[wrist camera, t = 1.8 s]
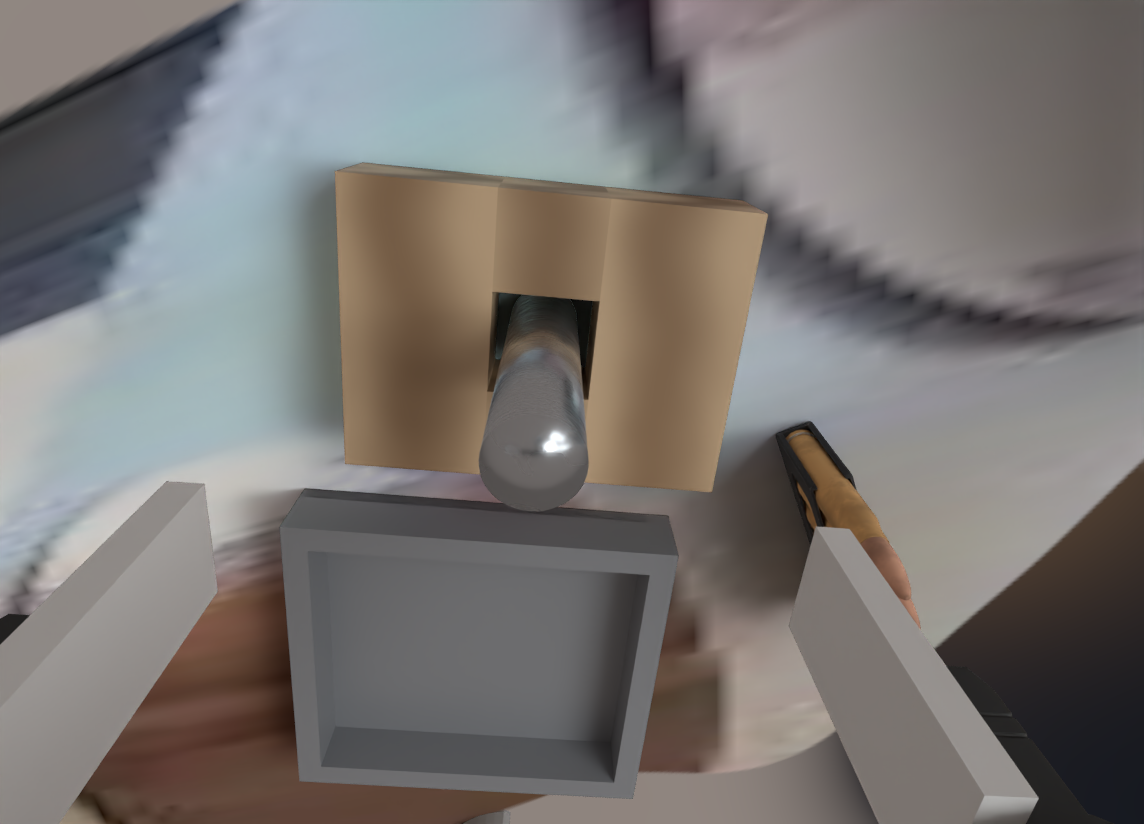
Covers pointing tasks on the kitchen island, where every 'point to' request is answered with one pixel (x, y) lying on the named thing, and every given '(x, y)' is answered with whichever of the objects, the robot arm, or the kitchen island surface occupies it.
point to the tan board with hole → (552, 269)
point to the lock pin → (537, 410)
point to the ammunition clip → (838, 503)
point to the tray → (473, 642)
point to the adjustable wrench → (491, 818)
